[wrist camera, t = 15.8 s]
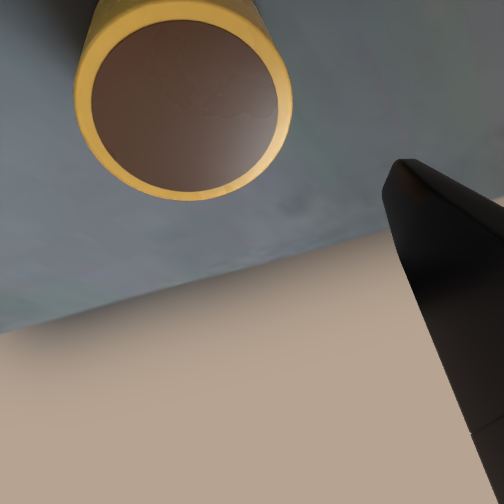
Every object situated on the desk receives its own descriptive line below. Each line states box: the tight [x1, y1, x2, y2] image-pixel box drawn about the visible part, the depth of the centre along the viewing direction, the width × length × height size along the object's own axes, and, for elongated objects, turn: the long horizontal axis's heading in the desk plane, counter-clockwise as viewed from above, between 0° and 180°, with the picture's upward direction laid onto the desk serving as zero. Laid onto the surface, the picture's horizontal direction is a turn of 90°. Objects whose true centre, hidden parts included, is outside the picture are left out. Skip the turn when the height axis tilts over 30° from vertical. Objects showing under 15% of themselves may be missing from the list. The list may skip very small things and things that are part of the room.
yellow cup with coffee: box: [73, 0, 293, 201], centre depth 11 cm, size 5×5×4 cm
